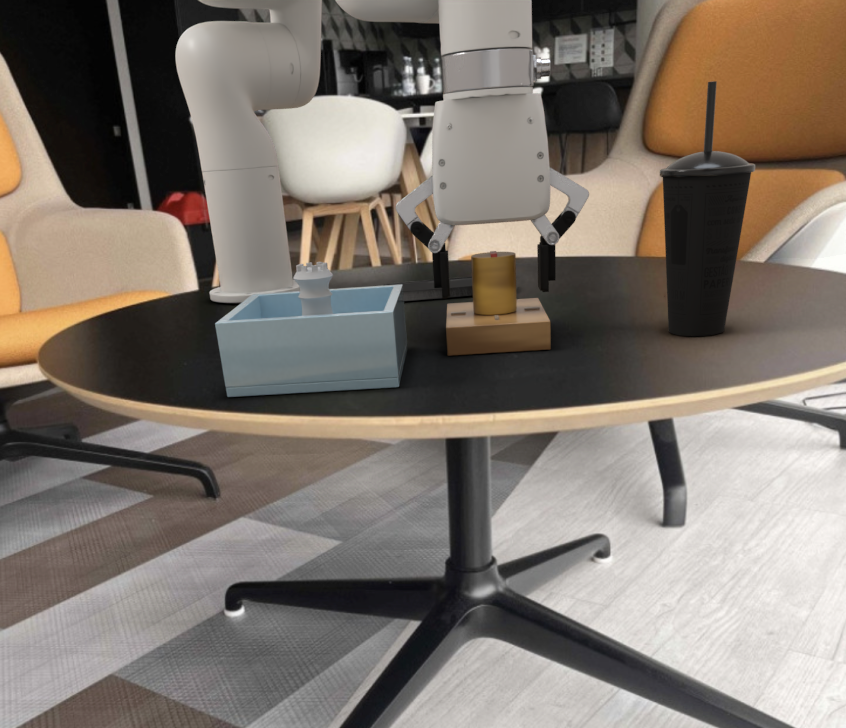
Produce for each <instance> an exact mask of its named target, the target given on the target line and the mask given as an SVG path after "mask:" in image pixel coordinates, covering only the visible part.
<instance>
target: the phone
mask: <svg viewBox="0 0 846 728" xmlns="http://www.w3.org/2000/svg"><path fill="white" fill-rule="evenodd" d="M449 278H450V297H449V298H461V297H471V296H472V297H473V290H472V276H462V277H449ZM401 284H402V285H403V294H404V302H411V301H421V300H422V301H423V300H433V299H434V300H435V299H442V288H434V279H425V280H413V281H399V282H389V283H384V284H383V285H382V286H386V285H401Z"/></svg>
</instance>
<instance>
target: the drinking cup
mask: <svg viewBox="0 0 846 728" xmlns="http://www.w3.org/2000/svg"><path fill="white" fill-rule="evenodd" d="M706 91H707V92H706V93H707V94H706V105H705V123H704V124H705V126H704V138H703V139H704V140H703V151H699V152H694V153H691V154H689V155H685V156H683V157H680V158H678V159H676V160H675V161H673V162H672V163H670V164H669V165H668V166H667V167H664V168H661V169H659V177H660V178H662V196H663V216H664V217H663V218H664V219H663V221H664V223H663V224H664V245H665V273H666V276H665V277H666V300H667V326H668V327H667V328H668V332H669V333H670V334H672V335H675V336H683V337H708V336H714V335H719V334H723V332H725V328H726V322H727V316H728V310H729V304H730V299H731V293H732V287H733V282H734V276H735V270H736V263H737V258H738V253H739V246H740V240H741V234H742V230H743V229H742V228H743V224H744V216H745V211H746V207H747V206H746V205H747V201H748V200H747V199H748V193H749V188H750V183H751V176H752V173H754V172H755V171H756V163H750V162H748V161H747V160H746V159H744V158H742V157H741V156H739V155H737V154H734V153H730V152H725V151H720V150H713V146H714V145H713V144H714V127H715V116H716V115H715V113H716V99H717V98H716V97H717V81H715V80H714V81H708V82H707V89H706Z"/></svg>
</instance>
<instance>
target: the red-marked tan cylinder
mask: <svg viewBox="0 0 846 728" xmlns="http://www.w3.org/2000/svg"><path fill="white" fill-rule="evenodd" d="M516 259H517V255H516V253H515V252H513V251H497V250H491V251H489V252H488V251H487V252H480V253H475V254H472V255H471V256H470V263H471V265H470V266H471V277H472V290H473V295H472V302H473V312H474V313H476V314H480V315H500V314H507V313H512V312H514V311H516V310H517V299H518V298H517V297H518V295H517V260H516Z"/></svg>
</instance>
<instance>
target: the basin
mask: <svg viewBox="0 0 846 728" xmlns="http://www.w3.org/2000/svg"><path fill="white" fill-rule="evenodd" d="M329 291H330V292H331V293H332V296H331V297H330V299H331V307H332V311H333V314H324V315H309V316H302V304H301V300H300V298H299V297H298V296H299V295H300V291H295V292H280V293H264V294H253V295H251V296H250V297H249V298H247V299H246V300H245V301H243V302H242V303H239V304H238V305H237V306H236V307H234V308H233V309H232V310H231V311H229V312H228V313H226V314H225V315H224V316H223V317H221V318H220V319H218V321H216V322H215V323H214V325H215V332H216V339H217V345H218V349H219V350H218V351H219V356H220V361H221V362H220V363H221V368H222V374H223V380H224V386H225V391H226V397H227V398H240V397H241V398H242V397H257V396H258V397H259V396H275V395H293V394H307V393H308V394H309V393H325V392H342V391H343V392H344V391H357V390H358V391H360V390H361V391H362V390H374V389H375V390H377V389H394V388H399V387H400V384H401V379H402V375H403V371H404V365H405V362H406V358H407V353H408V338H407V337H408V336H407V322H406V308H405V301H404V294H403V285H402V284H401V285H386V286H383V285H376V286H375V285H374V286H373V285H372V286H358V287H341V288H329Z"/></svg>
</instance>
